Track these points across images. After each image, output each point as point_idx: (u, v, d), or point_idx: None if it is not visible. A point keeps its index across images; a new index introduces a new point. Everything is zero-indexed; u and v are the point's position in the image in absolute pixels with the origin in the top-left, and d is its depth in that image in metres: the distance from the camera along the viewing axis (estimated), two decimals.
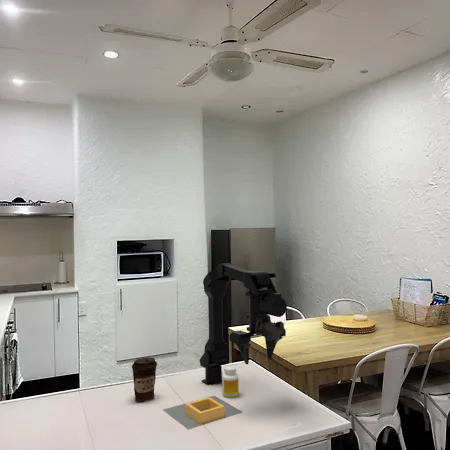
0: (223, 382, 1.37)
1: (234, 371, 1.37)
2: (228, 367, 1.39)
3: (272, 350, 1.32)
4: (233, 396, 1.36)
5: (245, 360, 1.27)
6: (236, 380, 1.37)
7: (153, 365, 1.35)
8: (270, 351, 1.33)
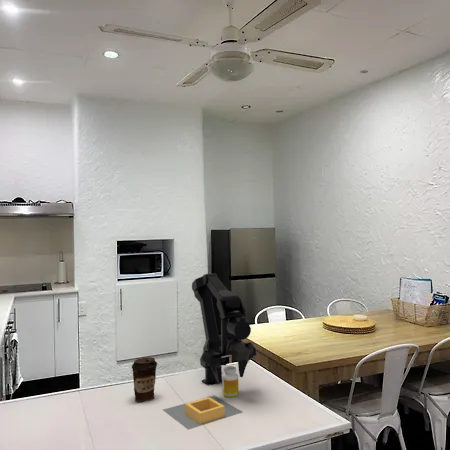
0: (223, 382, 1.37)
1: (234, 371, 1.37)
2: (228, 367, 1.39)
3: (243, 369, 1.40)
4: (233, 396, 1.36)
5: (217, 379, 1.35)
6: (236, 380, 1.37)
7: (153, 365, 1.35)
8: (241, 370, 1.41)
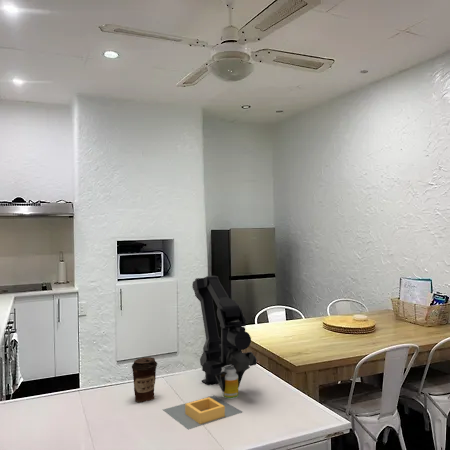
0: None
1: (234, 371, 1.37)
2: (228, 367, 1.39)
3: (239, 379, 1.39)
4: (233, 396, 1.36)
5: (221, 387, 1.36)
6: (236, 380, 1.37)
7: (153, 365, 1.35)
8: (238, 380, 1.39)
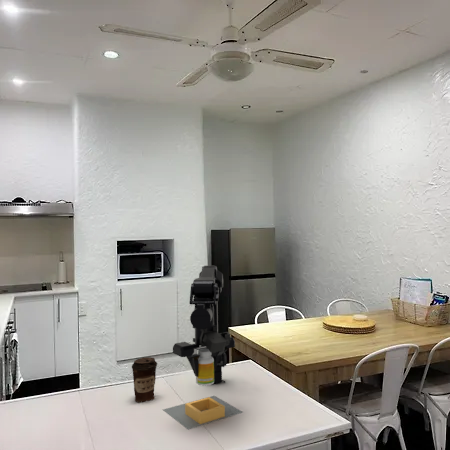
0: None
1: (209, 354, 1.22)
2: (203, 349, 1.24)
3: (215, 363, 1.24)
4: (208, 382, 1.21)
5: (195, 372, 1.21)
6: (211, 364, 1.22)
7: (153, 365, 1.35)
8: None
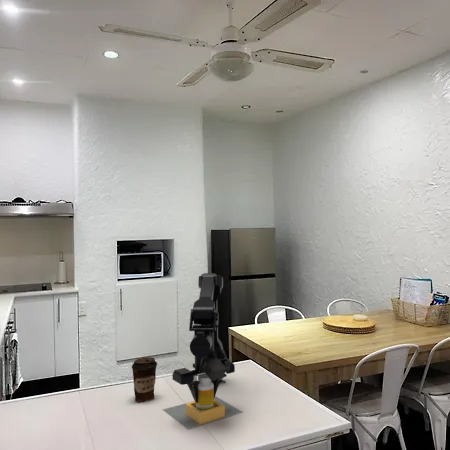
0: None
1: (209, 380, 1.22)
2: (202, 375, 1.24)
3: (215, 389, 1.24)
4: (207, 408, 1.21)
5: (194, 398, 1.21)
6: (211, 390, 1.22)
7: (153, 365, 1.35)
8: None
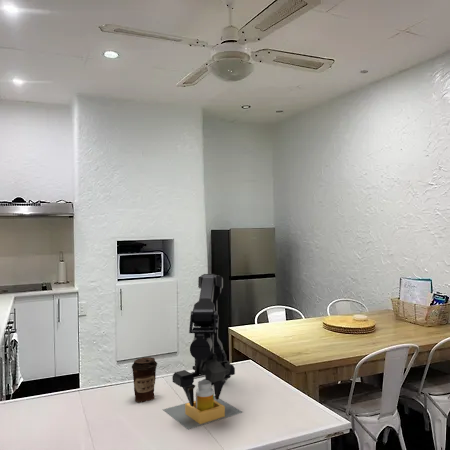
0: (196, 398, 1.22)
1: (209, 386, 1.22)
2: (202, 381, 1.24)
3: (219, 390, 1.25)
4: None
5: (190, 402, 1.20)
6: (211, 396, 1.21)
7: (153, 365, 1.35)
8: (217, 391, 1.25)
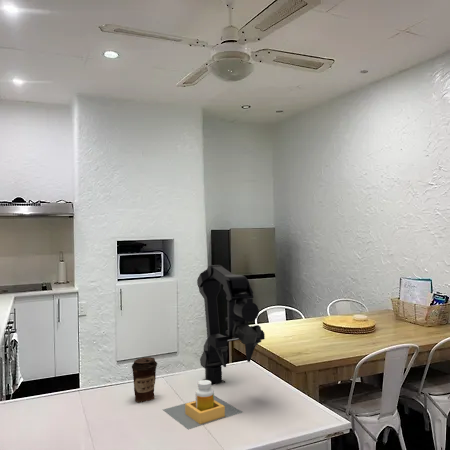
0: (196, 398, 1.22)
1: (209, 386, 1.22)
2: (202, 381, 1.24)
3: (251, 353, 1.35)
4: None
5: (223, 363, 1.30)
6: (211, 396, 1.21)
7: (153, 365, 1.35)
8: (249, 354, 1.35)
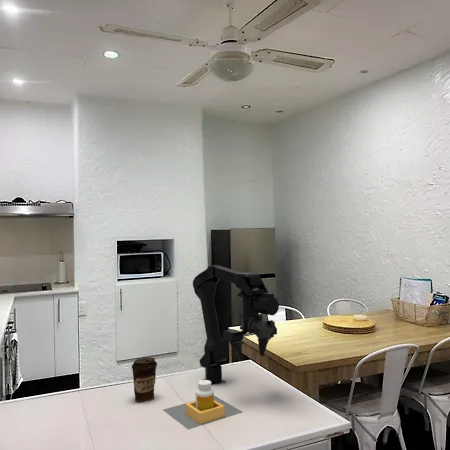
0: (196, 398, 1.22)
1: (209, 386, 1.22)
2: (202, 381, 1.24)
3: (264, 348, 1.39)
4: None
5: (238, 357, 1.34)
6: (211, 396, 1.21)
7: (153, 365, 1.35)
8: (262, 349, 1.39)
